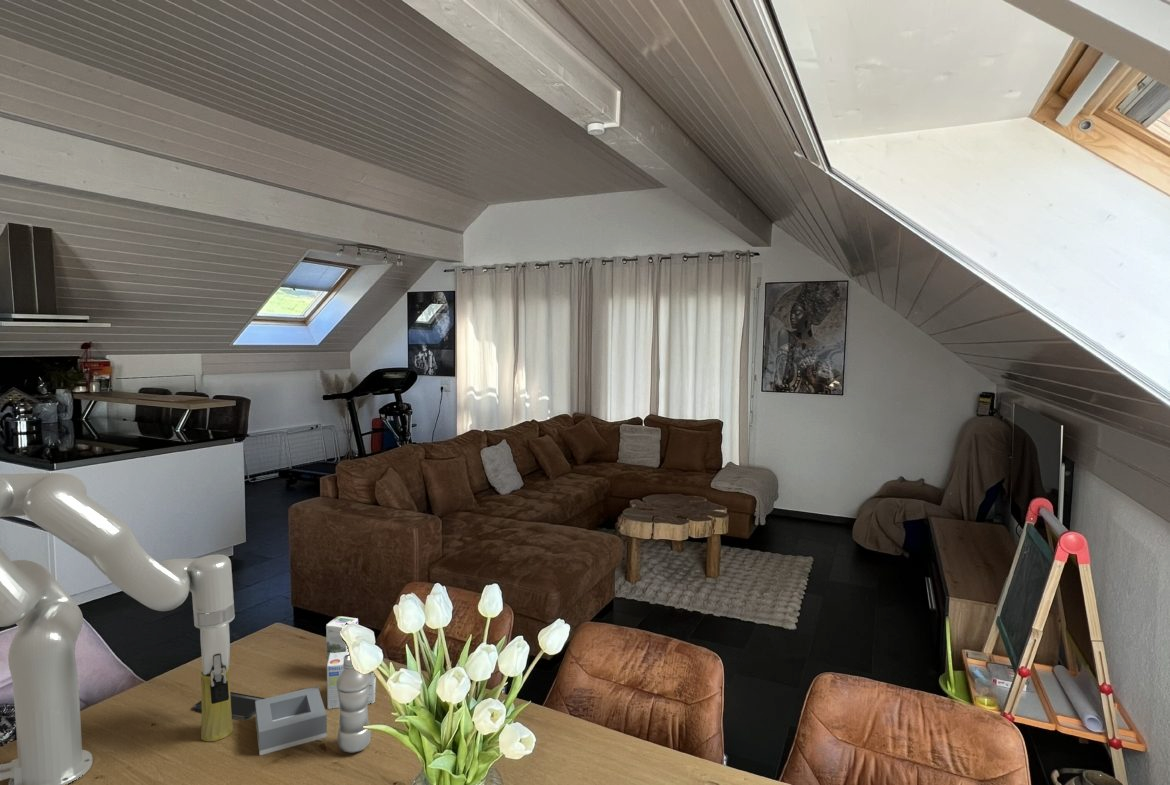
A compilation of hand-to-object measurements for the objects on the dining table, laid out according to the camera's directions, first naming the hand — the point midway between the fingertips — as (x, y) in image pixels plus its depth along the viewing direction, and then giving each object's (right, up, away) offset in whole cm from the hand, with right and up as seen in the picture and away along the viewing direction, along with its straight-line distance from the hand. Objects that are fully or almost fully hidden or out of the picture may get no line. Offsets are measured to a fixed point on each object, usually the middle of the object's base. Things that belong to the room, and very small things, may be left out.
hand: (219, 690), depth 140 cm
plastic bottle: (+30, -11, -3) cm, 32 cm away
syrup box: (+17, -8, +25) cm, 31 cm away
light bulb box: (+23, -9, +14) cm, 29 cm away
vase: (-1, -10, +1) cm, 10 cm away
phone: (-3, -9, +11) cm, 14 cm away
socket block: (+14, -10, +2) cm, 17 cm away
